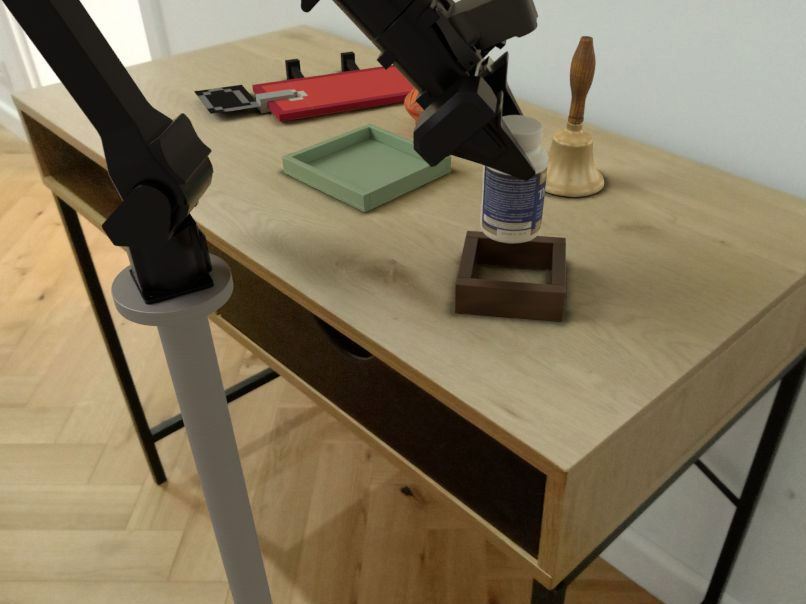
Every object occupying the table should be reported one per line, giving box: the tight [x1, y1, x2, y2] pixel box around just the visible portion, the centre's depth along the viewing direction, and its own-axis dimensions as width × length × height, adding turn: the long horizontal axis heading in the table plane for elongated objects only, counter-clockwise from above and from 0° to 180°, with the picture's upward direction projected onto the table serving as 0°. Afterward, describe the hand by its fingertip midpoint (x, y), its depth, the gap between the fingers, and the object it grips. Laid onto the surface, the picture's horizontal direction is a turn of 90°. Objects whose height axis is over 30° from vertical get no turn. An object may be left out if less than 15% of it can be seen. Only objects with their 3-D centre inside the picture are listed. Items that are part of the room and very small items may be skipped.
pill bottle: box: [479, 115, 548, 243], centre depth 66 cm, size 5×5×10 cm
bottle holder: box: [454, 230, 567, 322], centre depth 71 cm, size 9×9×3 cm
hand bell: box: [545, 35, 605, 198], centre depth 84 cm, size 8×8×16 cm
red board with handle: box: [193, 51, 414, 122], centre depth 107 cm, size 30×3×15 cm
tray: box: [281, 123, 452, 213], centre depth 89 cm, size 14×14×2 cm
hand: (532, 161), depth 65 cm, fingers closed on pill bottle, 5 cm apart
